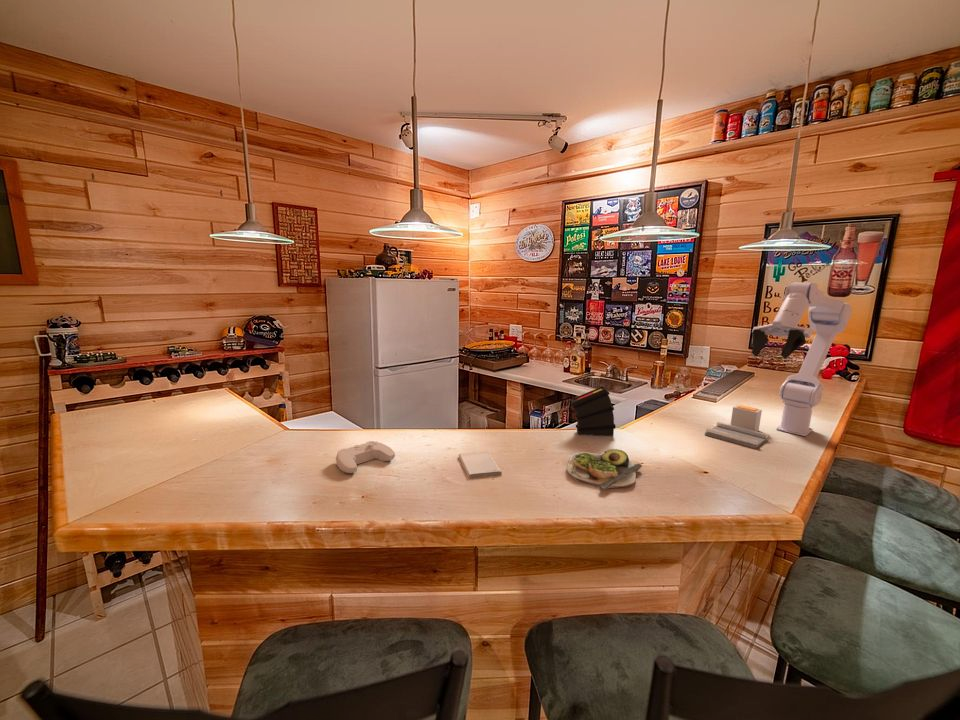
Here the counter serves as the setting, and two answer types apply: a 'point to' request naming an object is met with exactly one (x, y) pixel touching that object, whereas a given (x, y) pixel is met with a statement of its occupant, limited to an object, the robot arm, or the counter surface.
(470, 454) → the hard drive
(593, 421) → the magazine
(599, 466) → the avocado toast plate
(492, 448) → the counter surface
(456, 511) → the counter surface
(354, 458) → the game controller
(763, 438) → the rail mount
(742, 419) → the module block
